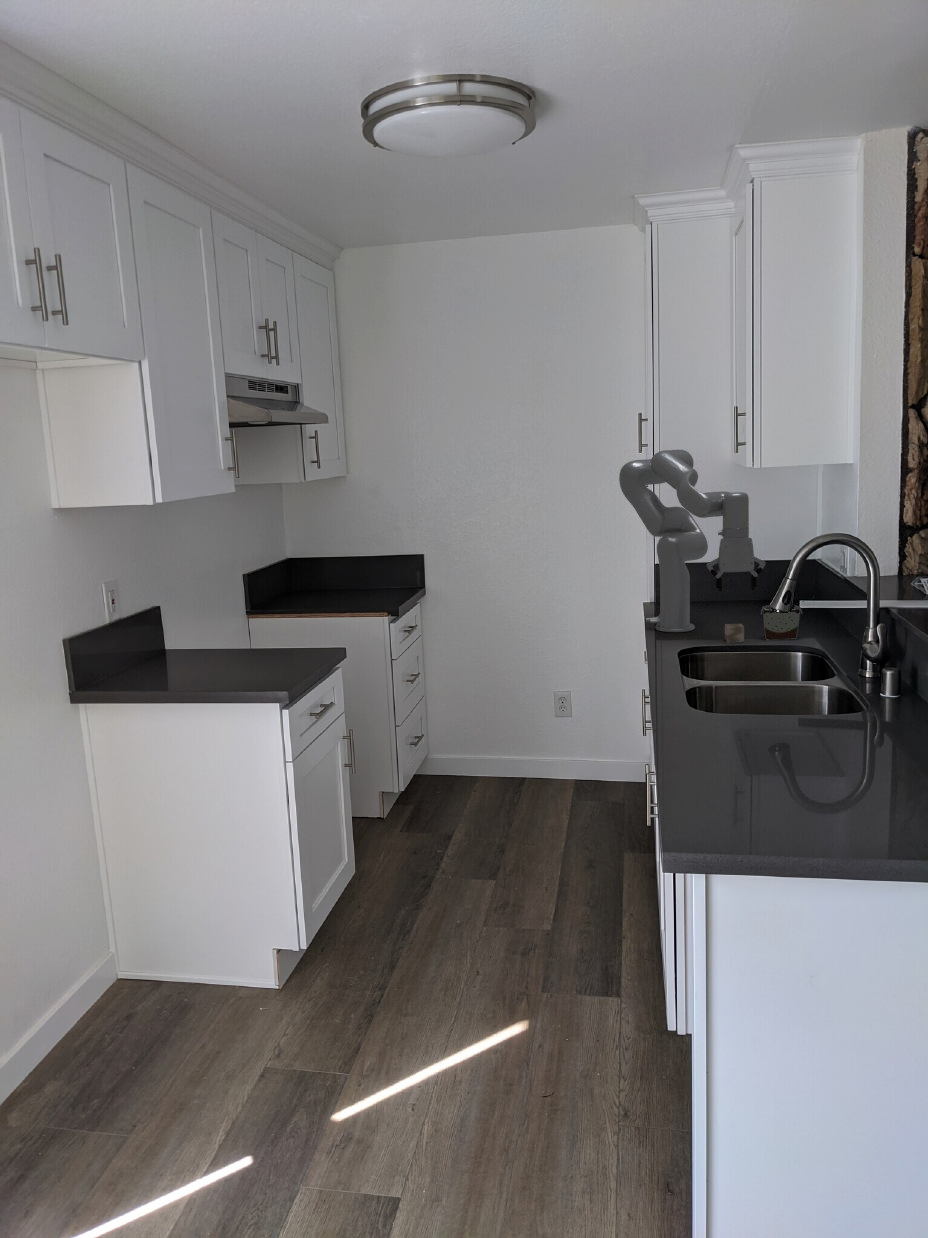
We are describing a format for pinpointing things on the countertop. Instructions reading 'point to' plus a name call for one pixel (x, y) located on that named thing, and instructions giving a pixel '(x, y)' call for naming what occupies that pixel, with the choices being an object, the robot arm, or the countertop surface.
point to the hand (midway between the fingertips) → (736, 590)
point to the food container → (780, 623)
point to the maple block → (734, 632)
